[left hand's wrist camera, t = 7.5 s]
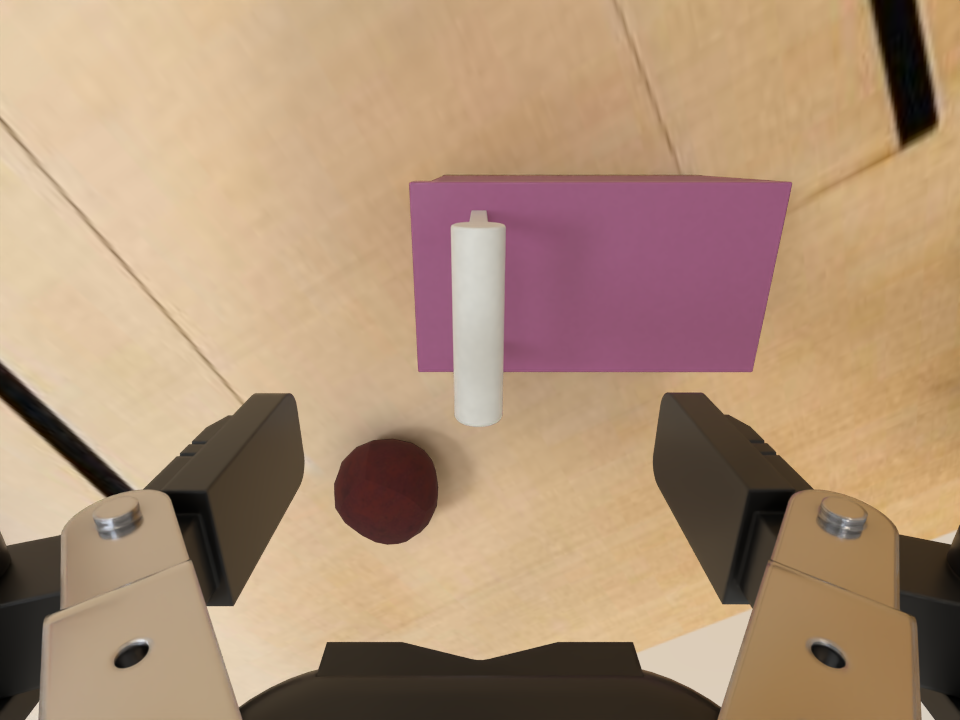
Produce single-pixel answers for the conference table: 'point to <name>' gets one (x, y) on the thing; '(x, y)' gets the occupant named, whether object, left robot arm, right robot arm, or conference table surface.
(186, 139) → the conference table surface
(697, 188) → the lid
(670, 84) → the conference table surface
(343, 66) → the conference table surface
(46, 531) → the conference table surface
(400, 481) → the potato
